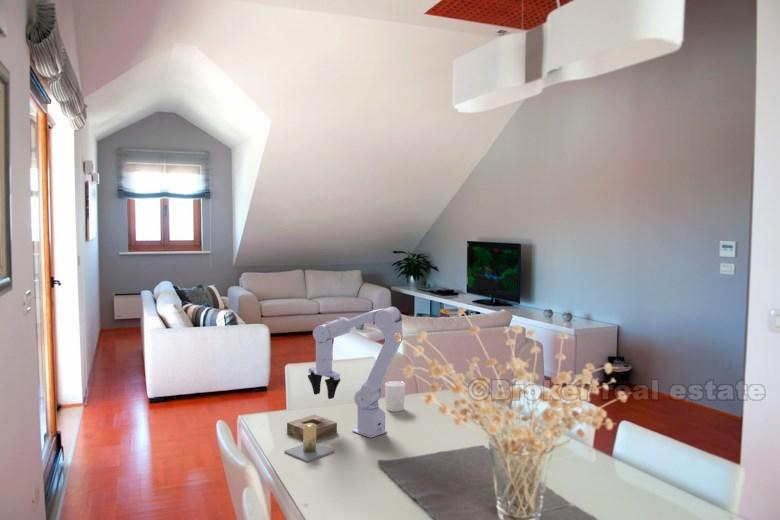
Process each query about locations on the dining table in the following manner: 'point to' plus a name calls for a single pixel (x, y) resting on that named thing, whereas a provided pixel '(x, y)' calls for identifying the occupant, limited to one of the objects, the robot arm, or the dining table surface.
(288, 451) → the pad
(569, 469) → the dining table surface
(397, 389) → the white cup
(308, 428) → the brass cylinder
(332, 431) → the block
